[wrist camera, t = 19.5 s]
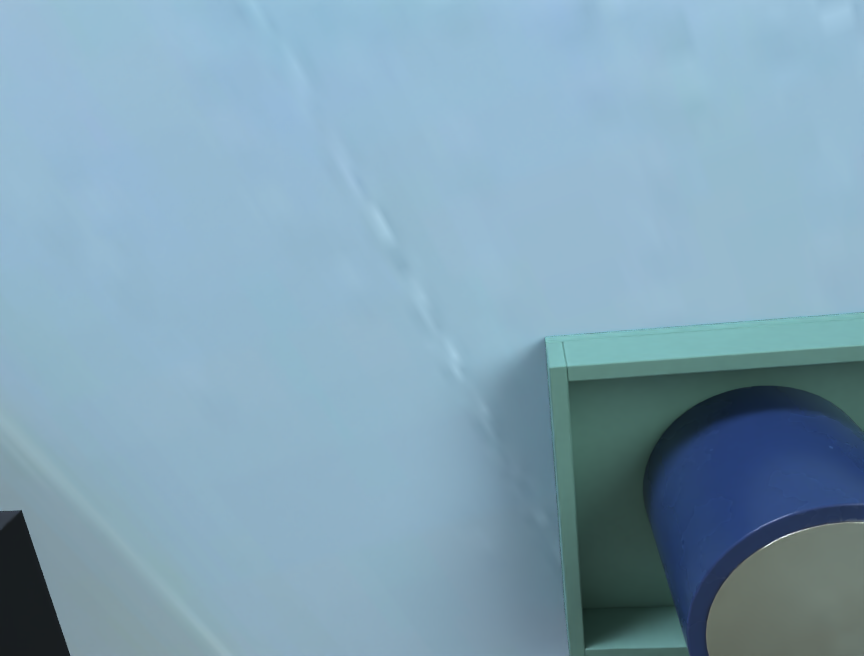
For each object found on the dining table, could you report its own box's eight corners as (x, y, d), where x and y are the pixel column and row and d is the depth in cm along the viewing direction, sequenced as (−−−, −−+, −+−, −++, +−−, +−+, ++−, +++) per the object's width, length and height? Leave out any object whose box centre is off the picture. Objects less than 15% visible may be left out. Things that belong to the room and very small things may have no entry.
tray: (564, 610, 42) (570, 661, 39) (544, 336, 37) (548, 367, 33) (939, 599, 40) (981, 653, 36) (978, 302, 34) (1033, 332, 30)
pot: (645, 579, 40) (639, 393, 36) (864, 570, 38) (880, 376, 35) (688, 743, 30) (685, 513, 27) (980, 739, 29) (1019, 496, 25)
